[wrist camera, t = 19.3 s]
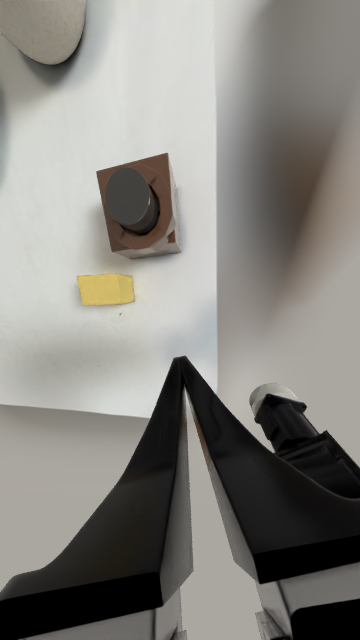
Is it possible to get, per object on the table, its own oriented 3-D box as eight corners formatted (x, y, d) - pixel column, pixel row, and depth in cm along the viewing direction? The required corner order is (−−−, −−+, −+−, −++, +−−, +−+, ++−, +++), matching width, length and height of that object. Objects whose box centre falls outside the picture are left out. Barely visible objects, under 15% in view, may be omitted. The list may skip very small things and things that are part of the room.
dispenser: (183, 257, 19) (175, 243, 13) (130, 264, 21) (101, 254, 14) (177, 185, 17) (165, 127, 11) (119, 197, 19) (79, 152, 12)
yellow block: (131, 275, 21) (116, 273, 17) (134, 301, 22) (121, 304, 18) (97, 277, 22) (76, 276, 18) (102, 301, 23) (82, 305, 19)
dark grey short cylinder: (160, 231, 13) (153, 220, 11) (124, 237, 14) (110, 228, 12) (155, 183, 12) (145, 160, 10) (116, 192, 13) (99, 172, 11)
